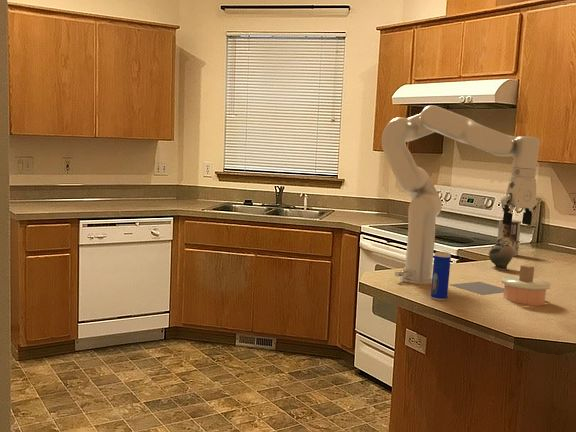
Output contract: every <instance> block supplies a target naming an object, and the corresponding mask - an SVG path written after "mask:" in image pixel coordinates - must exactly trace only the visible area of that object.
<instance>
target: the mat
mask: <svg viewBox="0 0 576 432" xmlns="http://www.w3.org/2000/svg"><path fill="white" fill-rule="evenodd" d="M450 286H451V287H455V288H458V289H462V290H465V291H468V292H472V293H474V294H477V295H482V296H485V295H492V294H493V295H494V294H495V295H496V294H501V293H502V294H504V287H500V286H498V285H494V284H489V283H486V282H482V281H471V282H463V283H454V284H453V283H452V284H450Z"/></svg>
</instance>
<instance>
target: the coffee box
mask: <svg viewBox="0 0 576 432" xmlns="http://www.w3.org/2000/svg"><path fill="white" fill-rule="evenodd" d="M521 224H522V221H516V220H512V224H511V225H506V224H503V219H501V220H498V229H497V231H498V232H497V240H496V243H499V242H500V241H501V239H502V242H507V243H508V242H509V244H510V245H512V247H513V248H514V252H515V255H514V256H513V257H515V256H518V255H519V249H520V248H519V246H520V236H521V235H520V234H521Z"/></svg>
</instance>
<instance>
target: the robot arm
mask: <svg viewBox="0 0 576 432" xmlns="http://www.w3.org/2000/svg"><path fill="white" fill-rule="evenodd" d="M434 133H437V134H440V135H442V136H444V137H447V138H450V139H452V140H454V141H457V142H458V143H461V144H466V145H468V146H471V147H474V148H476V149H478V150H482V151H483V152H487V153H488V154H491V155H493V156H496V157H503V158H504V157H513V159H512V166H511V172H510V174H511V175H510V178H509V180H508V185H507V189H506V194H505V196H503V197H502V198H501V199H500V203H501V208H502V212H503V218H502V220H503V224H506V225H511V224H512V221H513V216H514V214H513V211H514V210H515V208H517V209H523V210H524V211H523V212H522V221H521V224H522V225H526V226H531V225H532V219H533V214H534V212H535V210H536V209H537V205H538V204H539V200H538V199H537V178H536V173H537V167H538V160H539V159H538V158H539V153H540V146H541V145H540V143H541V142H540V139H539V138H538V137H536V136H529V135H528V136H527V135H522V136H521V135H520V136H514V135H510V134H506V133H503V132H501V131H497V130H495V129H493V128H490V127H487V126H485V125H482V124H480V123H479V122H476V121H475V120H474V119H471V118H469V117H467V116H464V115H462V114H458V113H456V112H454V111H451V110H448V109H446V108H443V107H441V106H438V105H434V104H433V105H432V104H431V105H427V106H424V108H423V109H422V111H421V112H420V113H419V114H418V113H417V114H415V115H413V116H410V117H402V116H399V117H395V118H392V119H391V120H390V121H389V122H388V123H387V125H385V127H384V129H383V131H382V134H381V146H382V147H381V148H382V151H383V154H384V156H385V158H386V160H387V162H388V164H389V166H390V169H391V171H392V173H393V175H394V177H395V180H396V182H397V184H398V186H399V187H400V189H401V190H402V191H403V192H405V193H407V194H409V196H410V197H411V201H410V202H409V205H408V213H407V214H408V216H407V217H408V222H407V223H408V226H407V227H408V229H407V240H406V241H407V243H406V253H405V254H406V255H405V266H404V267H403V268H402V270H401V271H400V270H399V271H398V270H397V271H395V272H394V275H395V276H394V277H396V278H399V279H400V281H402V282H405V283H409V284H415V285H417V284H418V285H432V275H433V264H434V253H435V252H434V251H435V241H436V239H435V238H436V218H437V216H438V215H440V214H441V212H442V209H443V208H442V207H443V203H442V199H441V197H440V195H439V193H438V191H437V189H436V187H435V185H434V183H433V181H432V179H431V177H430V175H429V174H428V172H427V171H426V170H425V169H424V168H423V167H420V166H418V165H417V164H416V161H415V159H414V158H413V155H412V153H411V151H410V150H409V148H408V145H407V143H409V142H413V141H416V140H418V139H421V138H423V137H425V136H429V135H431V134H434Z"/></svg>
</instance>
